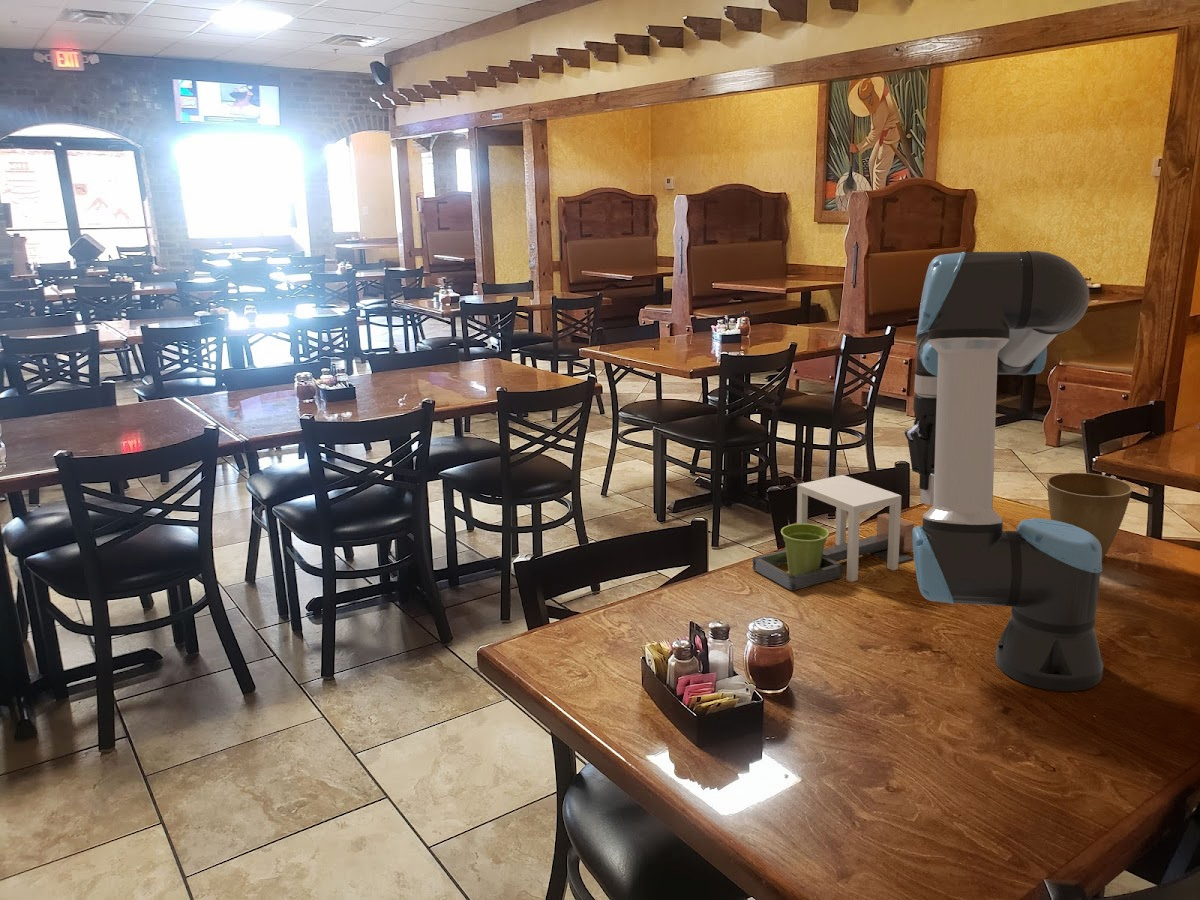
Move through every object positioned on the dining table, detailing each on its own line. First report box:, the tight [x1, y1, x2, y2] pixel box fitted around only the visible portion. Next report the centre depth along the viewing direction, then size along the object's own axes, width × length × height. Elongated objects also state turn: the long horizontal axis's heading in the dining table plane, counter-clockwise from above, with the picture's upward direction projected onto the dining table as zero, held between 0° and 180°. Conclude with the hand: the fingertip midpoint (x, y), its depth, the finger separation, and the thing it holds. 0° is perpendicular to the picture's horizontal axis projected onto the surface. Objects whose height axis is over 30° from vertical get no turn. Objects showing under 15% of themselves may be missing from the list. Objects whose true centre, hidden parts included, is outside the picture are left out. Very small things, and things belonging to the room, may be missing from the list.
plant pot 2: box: [1046, 472, 1133, 561], centre depth 183 cm, size 15×15×16 cm
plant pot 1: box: [780, 523, 830, 576], centre depth 183 cm, size 9×9×9 cm
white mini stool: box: [796, 474, 914, 583], centre depth 188 cm, size 17×18×16 cm
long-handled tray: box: [752, 512, 915, 592], centre depth 187 cm, size 12×33×6 cm, turn 117°
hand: (927, 503), depth 195 cm, fingers closed
